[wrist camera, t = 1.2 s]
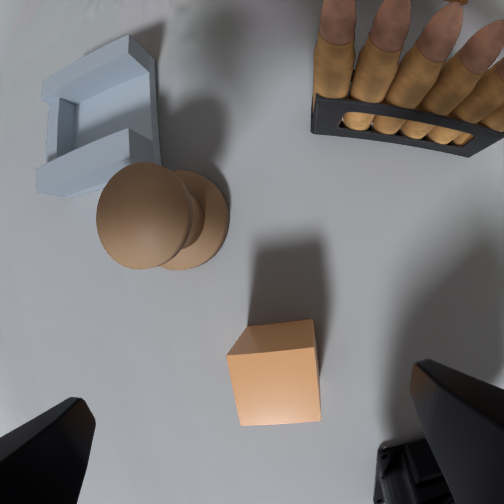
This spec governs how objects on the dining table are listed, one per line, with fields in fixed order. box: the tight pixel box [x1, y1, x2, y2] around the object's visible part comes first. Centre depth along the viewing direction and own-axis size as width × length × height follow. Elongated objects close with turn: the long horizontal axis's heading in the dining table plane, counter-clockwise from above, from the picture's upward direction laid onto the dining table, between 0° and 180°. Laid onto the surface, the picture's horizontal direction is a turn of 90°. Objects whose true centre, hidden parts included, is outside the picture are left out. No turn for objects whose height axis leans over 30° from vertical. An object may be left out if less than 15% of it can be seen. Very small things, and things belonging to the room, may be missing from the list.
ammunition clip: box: [311, 0, 504, 158], centre depth 11 cm, size 11×2×12 cm, turn 86°
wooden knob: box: [96, 162, 229, 270], centre depth 16 cm, size 6×6×6 cm
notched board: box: [36, 34, 162, 198], centre depth 18 cm, size 9×8×4 cm
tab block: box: [226, 319, 321, 426], centre depth 16 cm, size 4×4×5 cm
